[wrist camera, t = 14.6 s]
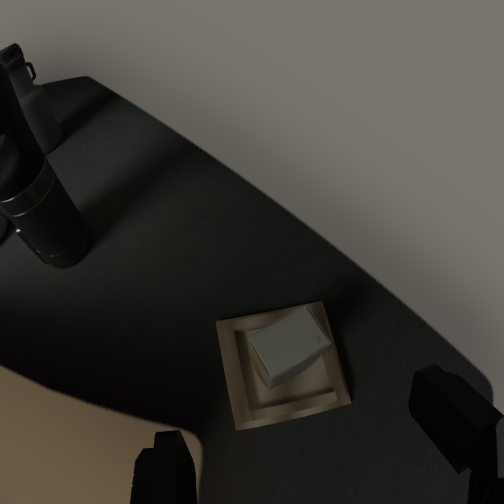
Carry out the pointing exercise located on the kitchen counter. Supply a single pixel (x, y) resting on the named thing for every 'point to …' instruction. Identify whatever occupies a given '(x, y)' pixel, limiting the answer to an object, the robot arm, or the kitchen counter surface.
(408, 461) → the kitchen counter surface
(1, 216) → the sea urchin shell
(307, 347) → the skincare box
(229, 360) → the tray
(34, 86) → the water bottle
